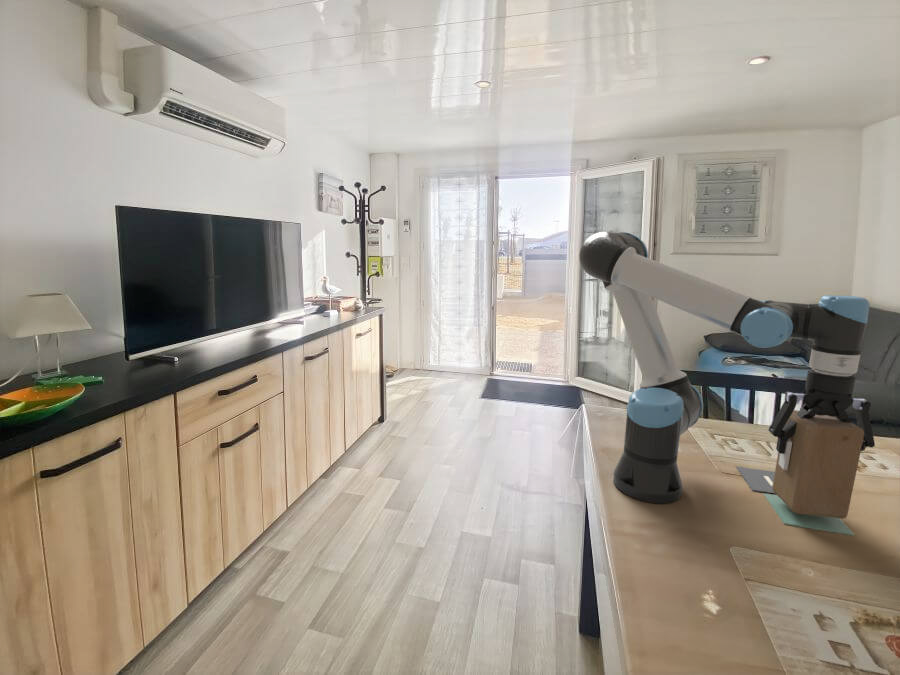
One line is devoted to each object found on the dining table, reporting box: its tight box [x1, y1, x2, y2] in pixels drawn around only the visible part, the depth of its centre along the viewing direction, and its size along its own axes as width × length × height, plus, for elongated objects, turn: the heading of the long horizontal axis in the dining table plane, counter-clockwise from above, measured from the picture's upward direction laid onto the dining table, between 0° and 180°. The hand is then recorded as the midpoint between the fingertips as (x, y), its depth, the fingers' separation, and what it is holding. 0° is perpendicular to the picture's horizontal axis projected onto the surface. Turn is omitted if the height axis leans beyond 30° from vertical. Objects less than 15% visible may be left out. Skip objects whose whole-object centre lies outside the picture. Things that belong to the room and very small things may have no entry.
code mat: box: [736, 466, 777, 495], centre depth 108 cm, size 18×12×1 cm, turn 72°
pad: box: [762, 492, 855, 536], centre depth 96 cm, size 12×12×1 cm
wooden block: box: [773, 409, 864, 520], centre depth 93 cm, size 10×10×20 cm
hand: (813, 471), depth 94 cm, fingers closed on wooden block, 10 cm apart
